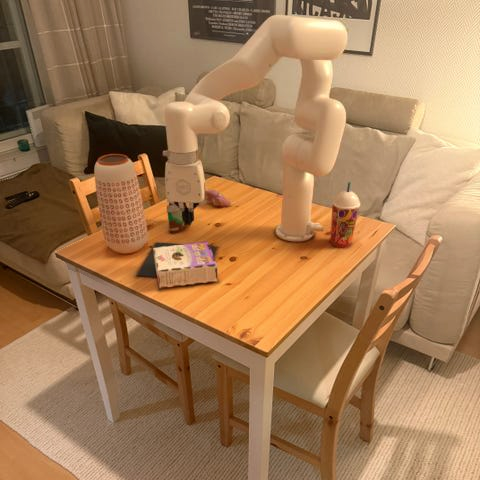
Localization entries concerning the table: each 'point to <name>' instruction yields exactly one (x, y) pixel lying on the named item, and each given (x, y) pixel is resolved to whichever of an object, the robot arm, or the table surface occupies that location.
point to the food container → (175, 218)
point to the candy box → (185, 264)
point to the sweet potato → (216, 198)
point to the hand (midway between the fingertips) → (188, 223)
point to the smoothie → (344, 217)
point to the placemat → (149, 264)
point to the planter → (120, 204)
